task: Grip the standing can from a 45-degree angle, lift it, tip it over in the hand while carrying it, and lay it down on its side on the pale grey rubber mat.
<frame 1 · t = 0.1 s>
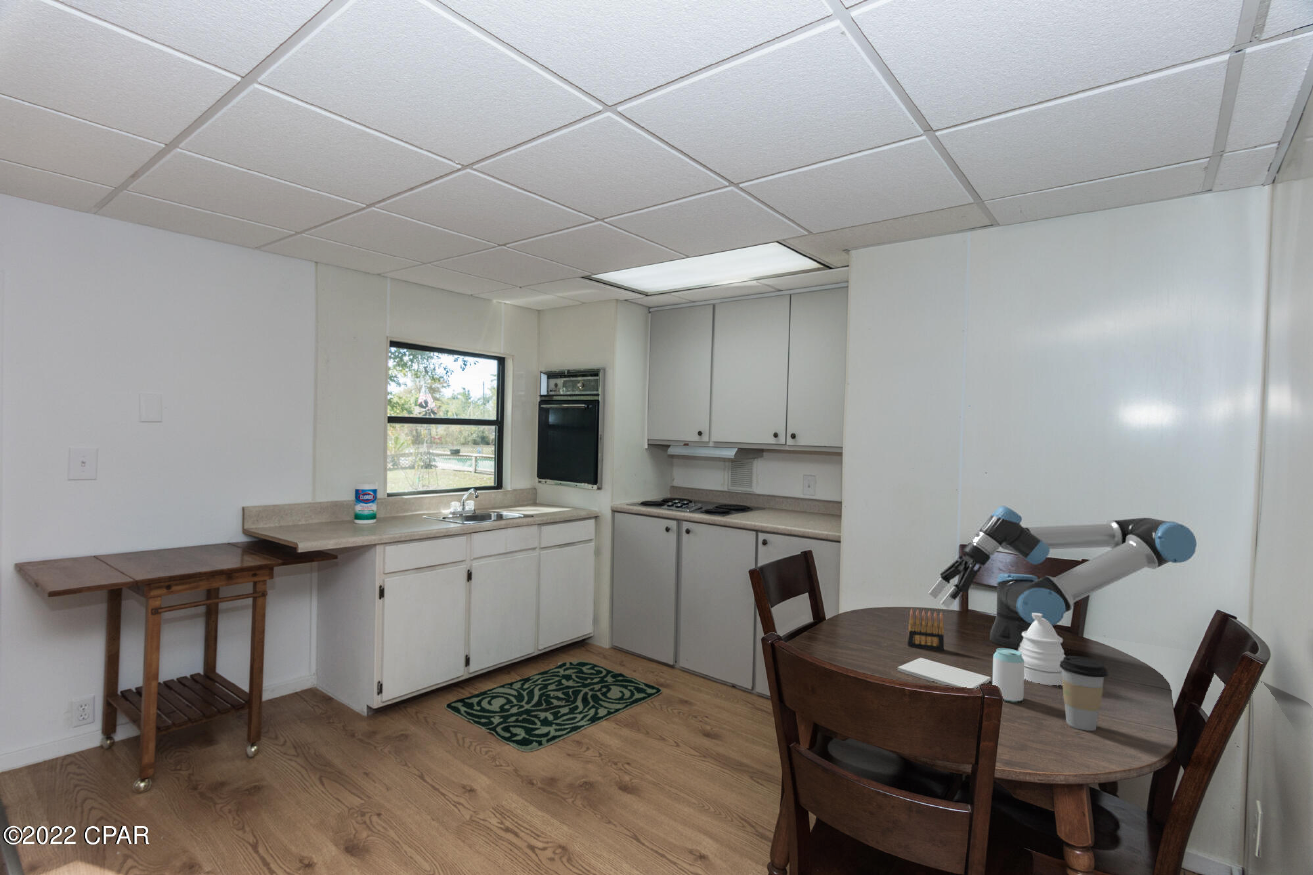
hand: (937, 600, 205), 15 cm above the table, tool tilted 35°, fingers open, 13 cm apart
honey pot: (1040, 677, 182), on the table
can: (1007, 698, 165), on the table
coffee cup: (1081, 726, 150), on the table
mat: (943, 675, 180), on the table
ammunition clip: (925, 648, 205), on the table
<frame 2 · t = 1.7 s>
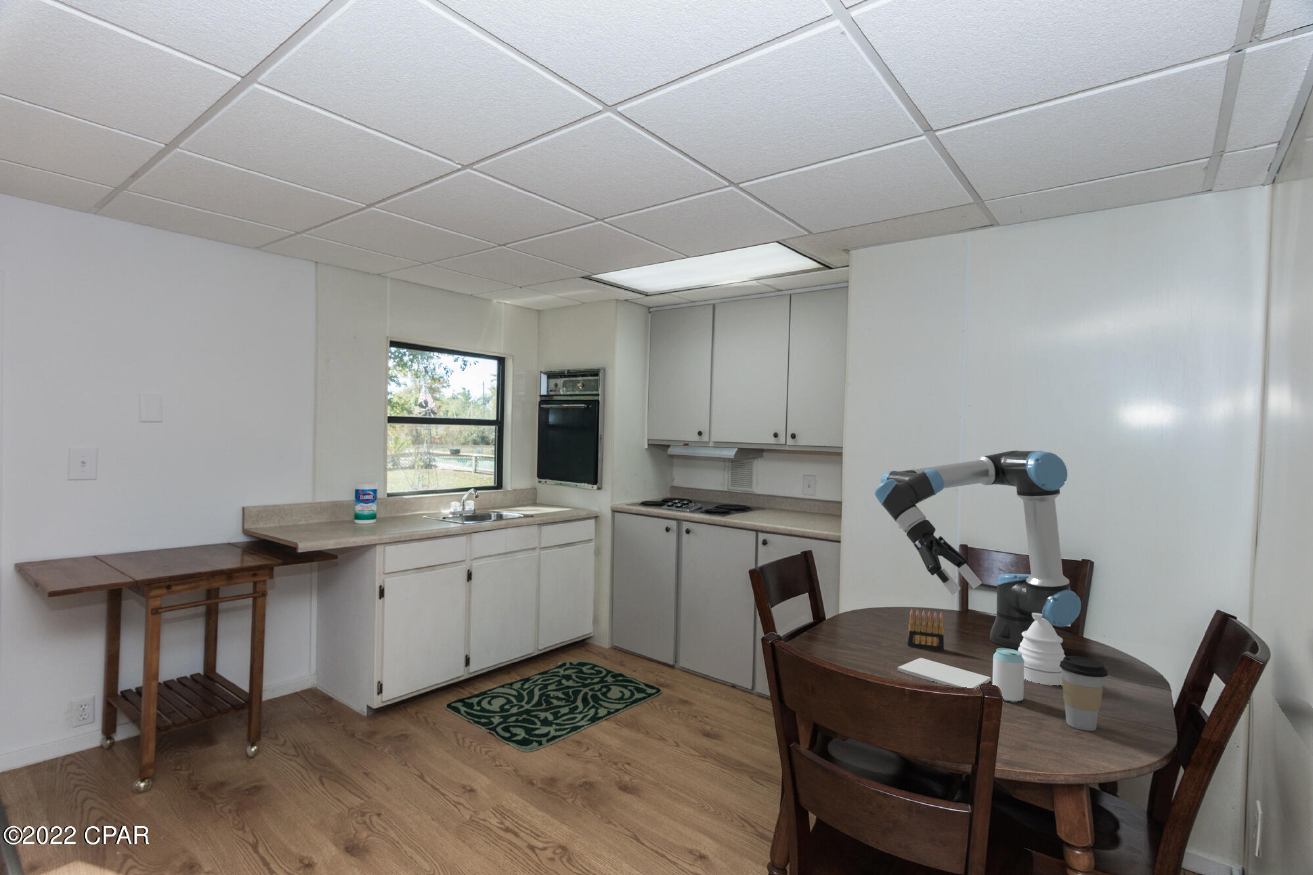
hand: (967, 588, 174), 26 cm above the table, tool tilted 45°, fingers open, 13 cm apart
nothing on the table moved.
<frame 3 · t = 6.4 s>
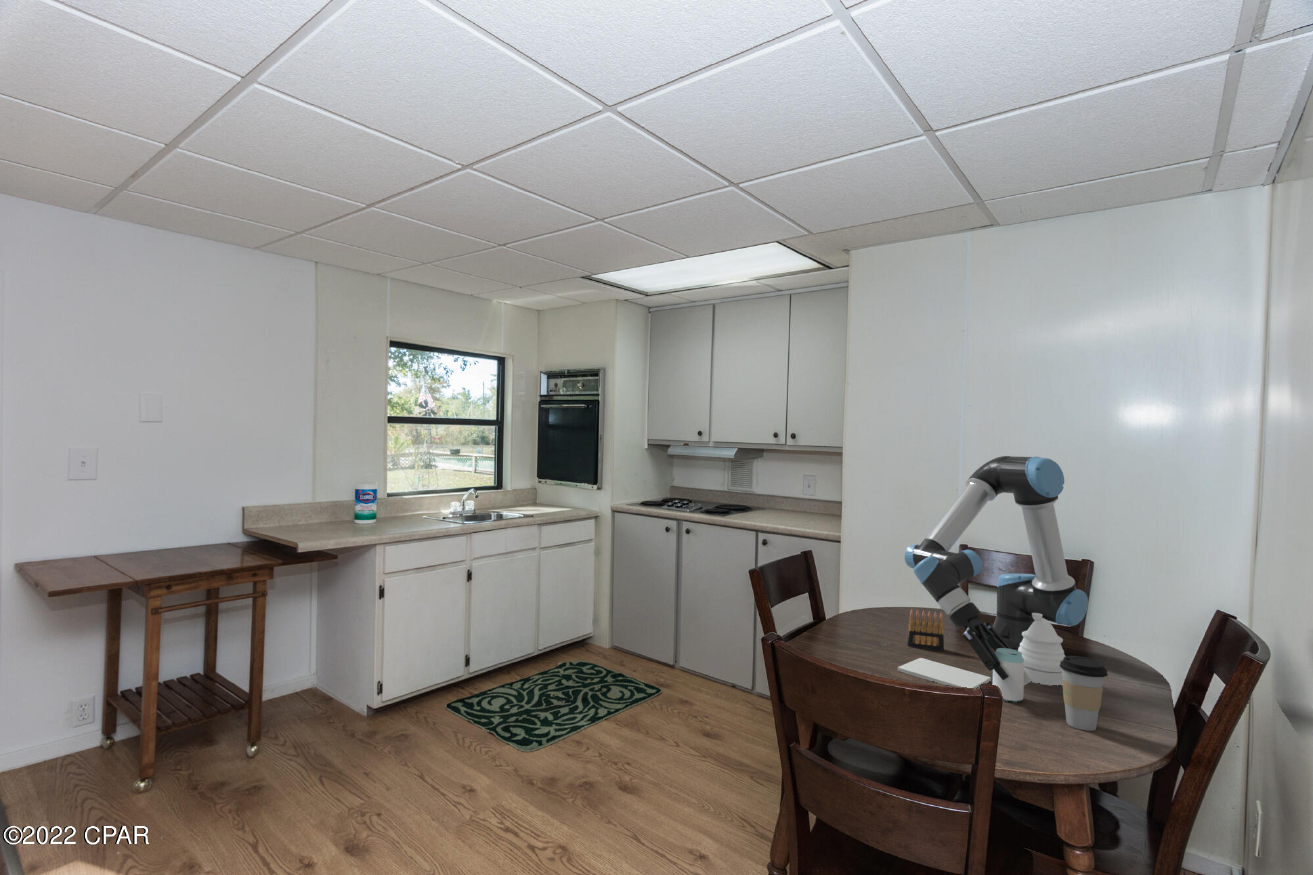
hand: (1022, 686, 163), 4 cm above the table, tool tilted 45°, fingers closed on can, 7 cm apart
can: (1007, 698, 165), on the table, touching gripper
everything else where it was.
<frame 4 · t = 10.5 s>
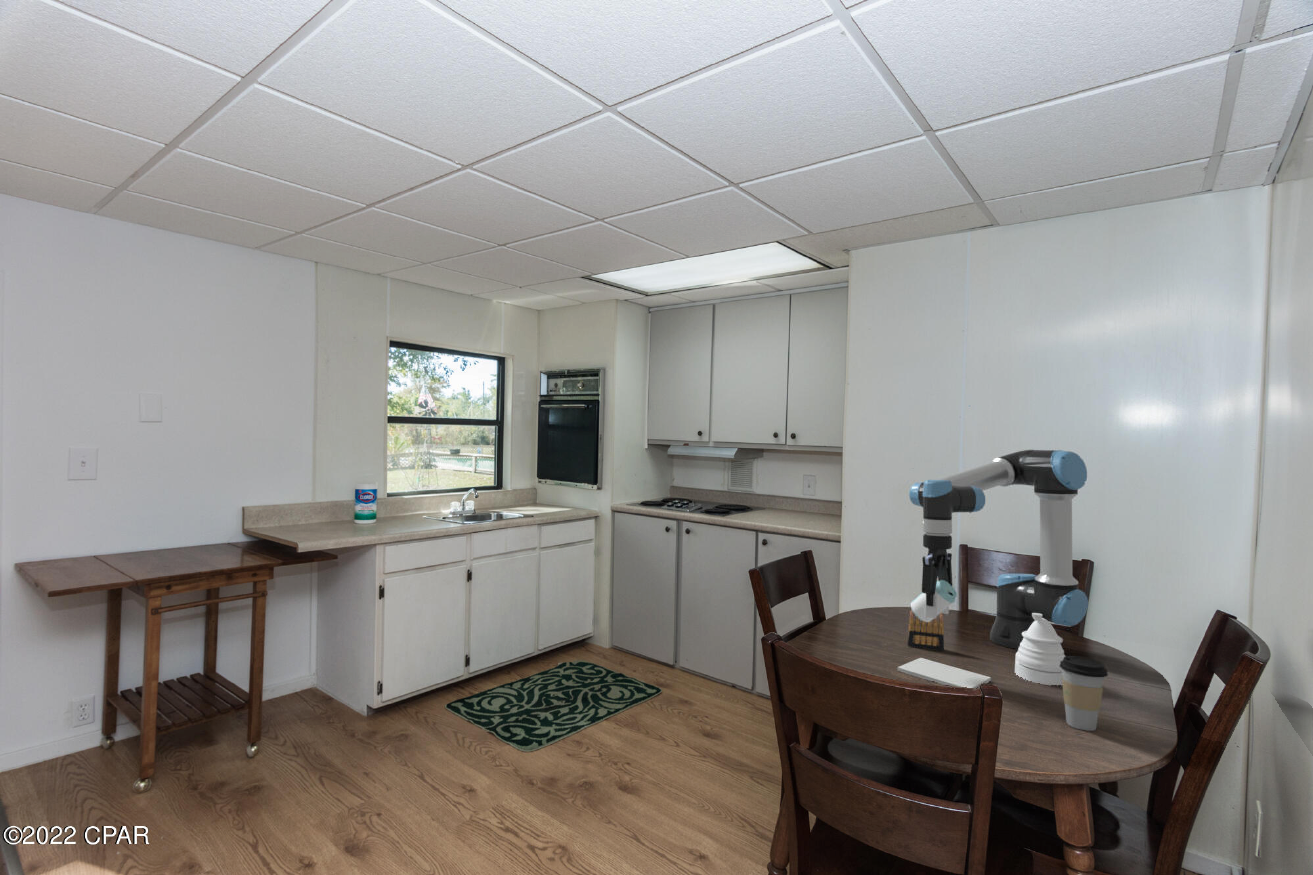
hand: (937, 615, 182), 17 cm above the table, tool pointing down, fingers closed on can, 7 cm apart
can: (918, 613, 186), point 16 cm above the table, touching gripper
everything else where it was.
when the fingers open (6 cm above the table, at t = 13.6 s): can moves 3 cm, resting on mat.
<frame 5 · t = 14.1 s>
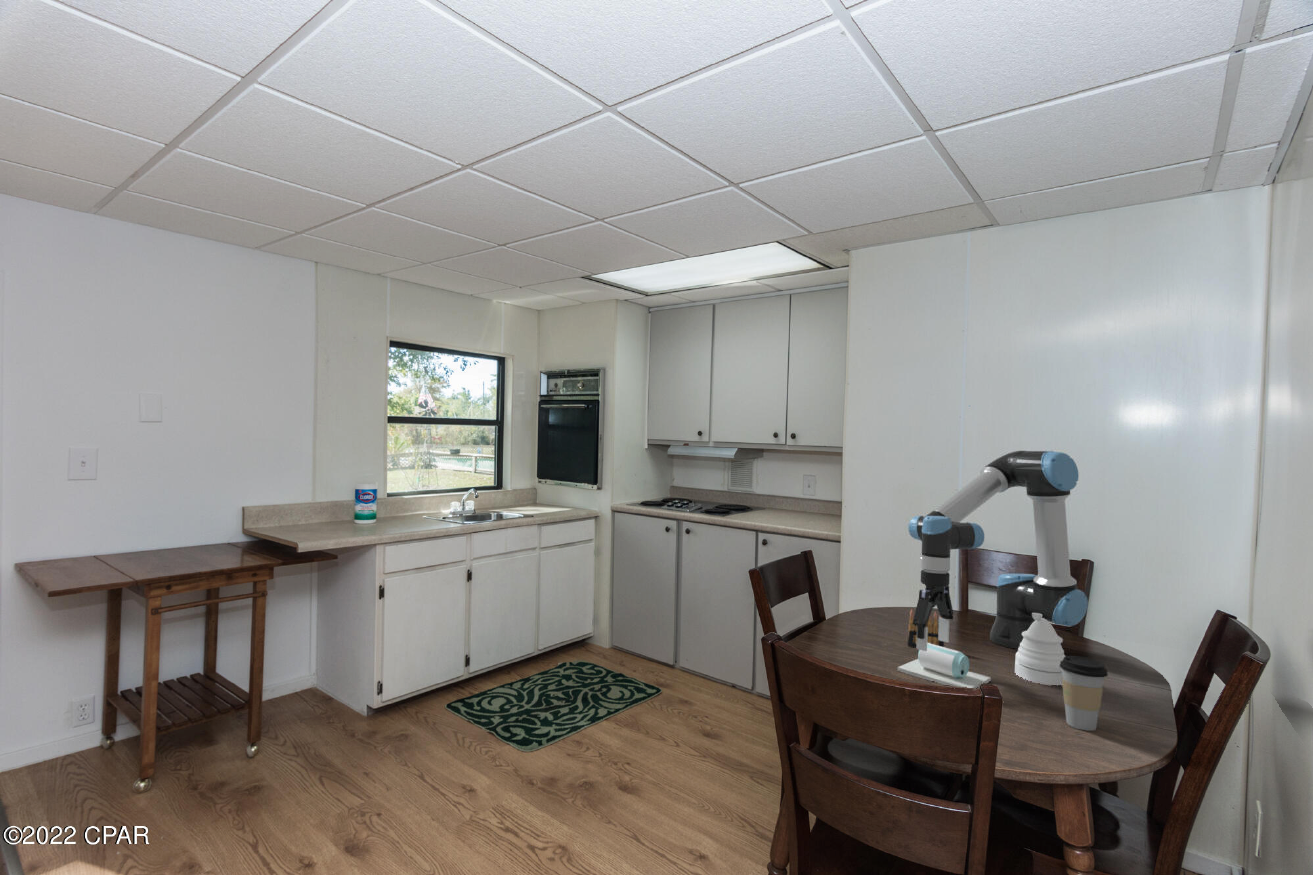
hand: (932, 645, 182), 8 cm above the table, tool pointing down, fingers open, 13 cm apart
can: (922, 654, 184), point 5 cm above the table, touching mat
everything else where it was.
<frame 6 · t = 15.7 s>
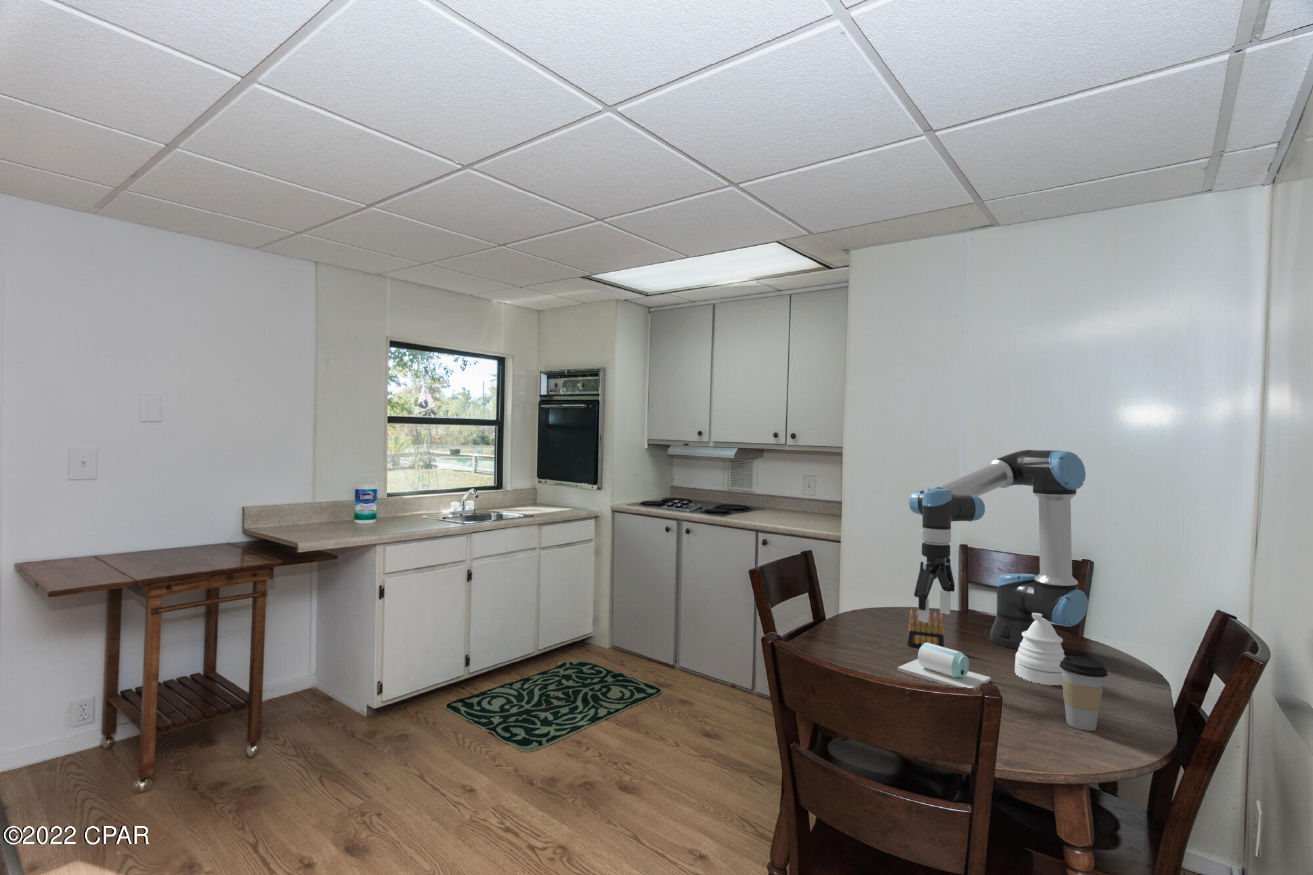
hand: (934, 617, 183), 16 cm above the table, tool pointing down, fingers open, 13 cm apart
nothing on the table moved.
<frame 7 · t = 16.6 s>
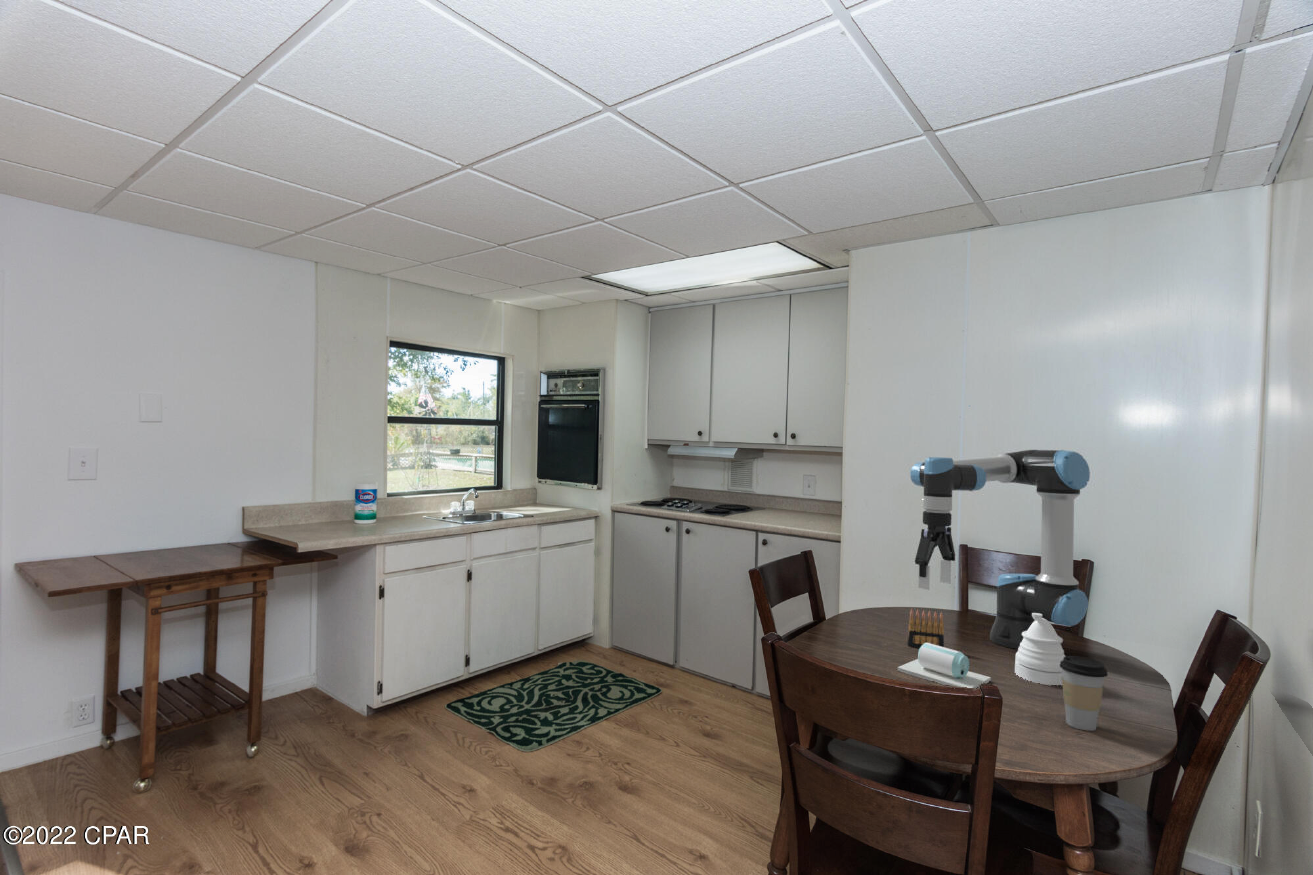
hand: (934, 585, 183), 25 cm above the table, tool pointing down, fingers open, 13 cm apart
nothing on the table moved.
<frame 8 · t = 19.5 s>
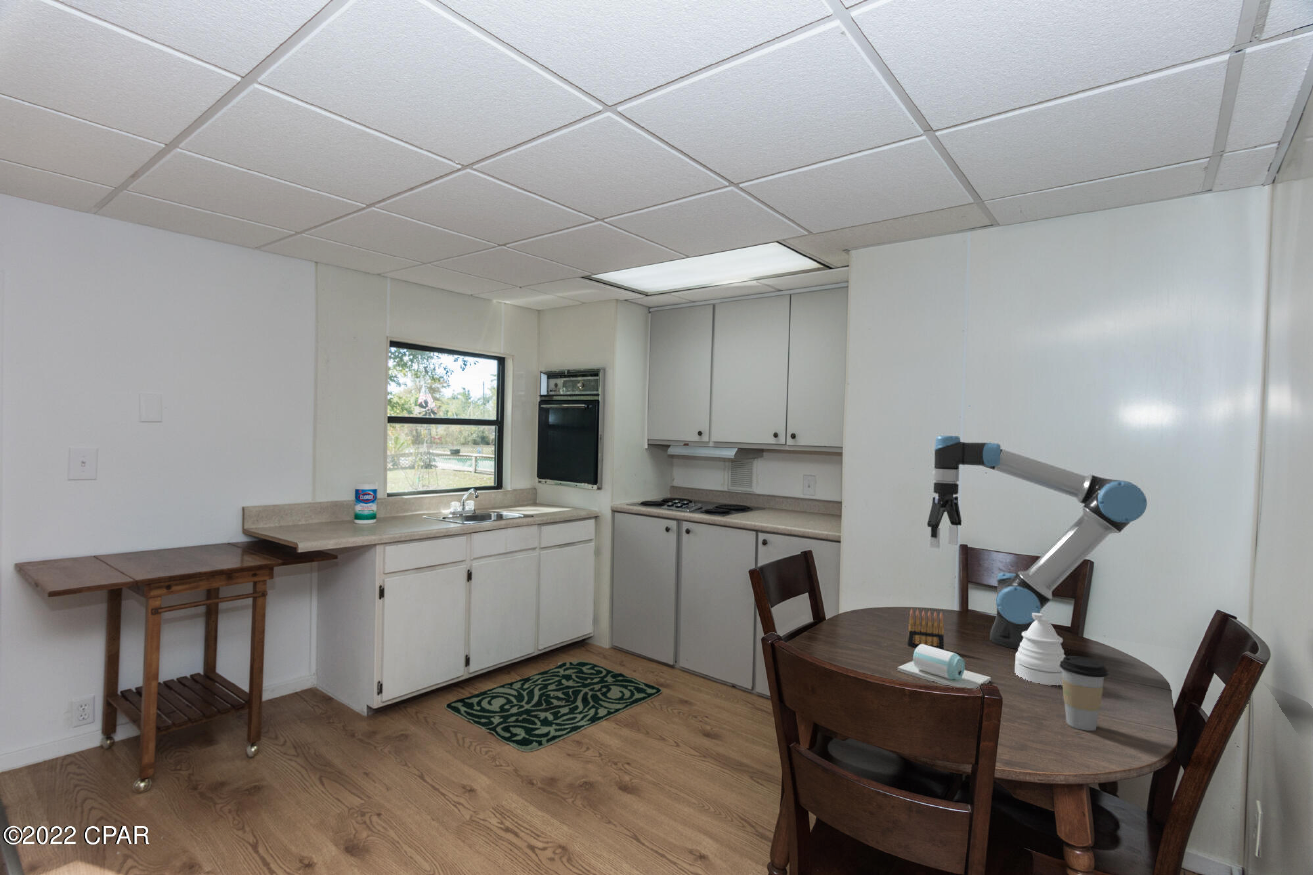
hand: (944, 546, 213), 32 cm above the table, tool pointing down, fingers open, 13 cm apart
can: (917, 655, 183), point 5 cm above the table, touching mat
everything else where it was.
at the end: can tilted 90°; can 7.2 cm from the mat (horizontally); can touching mat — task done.
